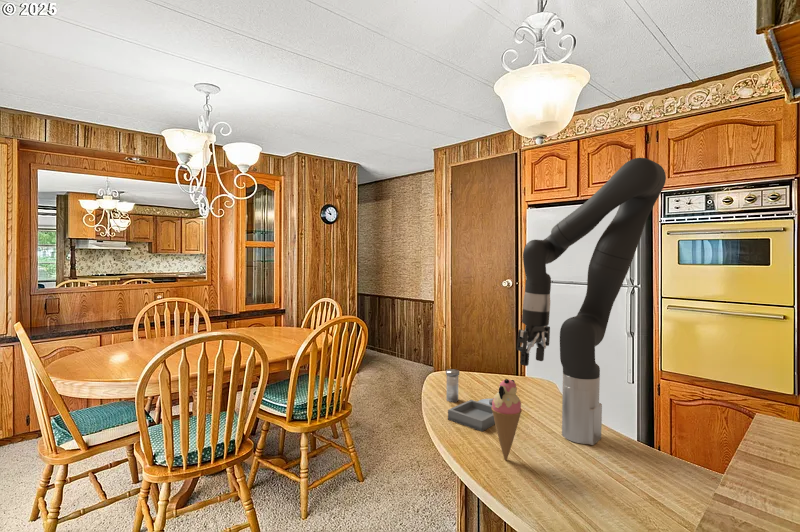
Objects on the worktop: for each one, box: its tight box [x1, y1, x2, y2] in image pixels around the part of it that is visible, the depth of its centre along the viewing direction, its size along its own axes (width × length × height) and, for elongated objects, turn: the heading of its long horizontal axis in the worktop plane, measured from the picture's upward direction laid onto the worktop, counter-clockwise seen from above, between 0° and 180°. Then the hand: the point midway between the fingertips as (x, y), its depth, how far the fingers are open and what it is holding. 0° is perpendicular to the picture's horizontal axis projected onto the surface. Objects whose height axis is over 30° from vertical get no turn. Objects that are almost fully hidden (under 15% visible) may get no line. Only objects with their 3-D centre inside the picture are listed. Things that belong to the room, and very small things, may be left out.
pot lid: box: [478, 398, 493, 406], centre depth 135 cm, size 10×10×6 cm
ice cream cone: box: [491, 378, 523, 461], centre depth 102 cm, size 8×7×20 cm
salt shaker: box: [445, 368, 460, 403], centre depth 143 cm, size 5×5×10 cm
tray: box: [447, 399, 495, 432], centre depth 127 cm, size 12×12×3 cm
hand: (532, 362), depth 124 cm, fingers open, 8 cm apart
